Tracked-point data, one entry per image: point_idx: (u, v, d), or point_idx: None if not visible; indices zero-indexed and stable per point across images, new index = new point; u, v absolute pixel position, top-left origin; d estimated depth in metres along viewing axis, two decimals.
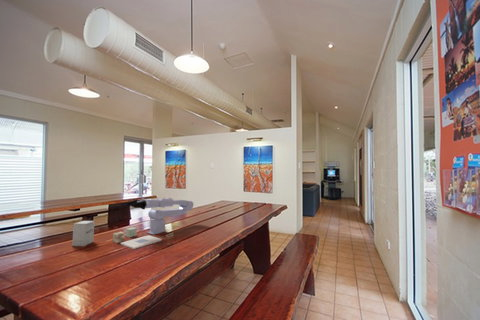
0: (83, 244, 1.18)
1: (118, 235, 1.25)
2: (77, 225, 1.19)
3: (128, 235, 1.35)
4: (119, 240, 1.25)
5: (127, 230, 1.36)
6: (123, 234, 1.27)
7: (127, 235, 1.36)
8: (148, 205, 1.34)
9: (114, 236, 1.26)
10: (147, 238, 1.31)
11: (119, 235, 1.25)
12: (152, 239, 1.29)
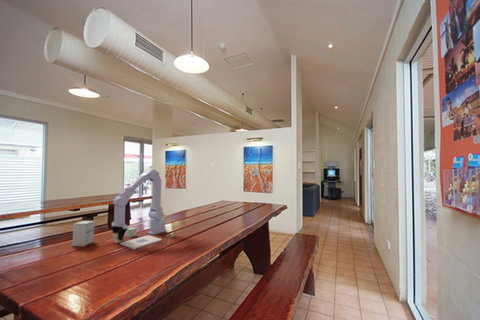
0: (83, 244, 1.18)
1: None
2: (77, 225, 1.19)
3: (128, 235, 1.35)
4: (119, 240, 1.25)
5: (127, 230, 1.36)
6: None
7: (127, 235, 1.36)
8: (126, 226, 1.24)
9: (114, 236, 1.26)
10: (147, 238, 1.31)
11: None
12: (152, 239, 1.29)
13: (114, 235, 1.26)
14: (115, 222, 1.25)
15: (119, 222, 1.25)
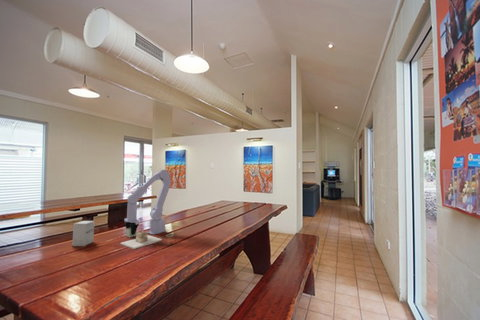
0: (83, 244, 1.18)
1: (142, 235, 1.24)
2: (77, 225, 1.19)
3: (128, 235, 1.35)
4: (142, 239, 1.24)
5: (127, 230, 1.36)
6: (146, 233, 1.26)
7: (127, 235, 1.36)
8: (138, 222, 1.34)
9: (137, 235, 1.24)
10: (147, 238, 1.31)
11: (142, 234, 1.24)
12: (152, 239, 1.29)
13: (137, 234, 1.24)
14: (128, 218, 1.36)
15: (132, 218, 1.36)
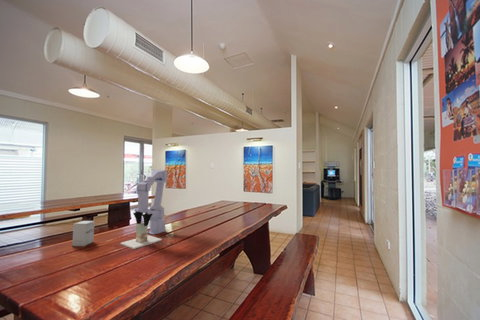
0: (83, 244, 1.18)
1: (142, 235, 1.24)
2: (77, 225, 1.19)
3: (139, 231, 1.24)
4: (142, 239, 1.24)
5: (138, 226, 1.25)
6: (146, 233, 1.26)
7: (138, 231, 1.24)
8: (150, 212, 1.23)
9: (137, 235, 1.24)
10: (147, 238, 1.31)
11: (142, 234, 1.24)
12: (152, 239, 1.29)
13: (137, 234, 1.24)
14: (139, 207, 1.24)
15: (143, 207, 1.25)
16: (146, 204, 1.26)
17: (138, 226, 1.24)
